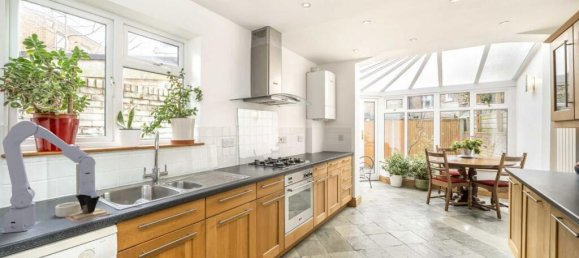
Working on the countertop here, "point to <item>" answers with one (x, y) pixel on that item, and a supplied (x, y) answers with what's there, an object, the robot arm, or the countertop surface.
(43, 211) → the countertop surface
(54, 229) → the countertop surface
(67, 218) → the mat
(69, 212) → the bowl
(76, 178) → the paper towel roll
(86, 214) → the lid
